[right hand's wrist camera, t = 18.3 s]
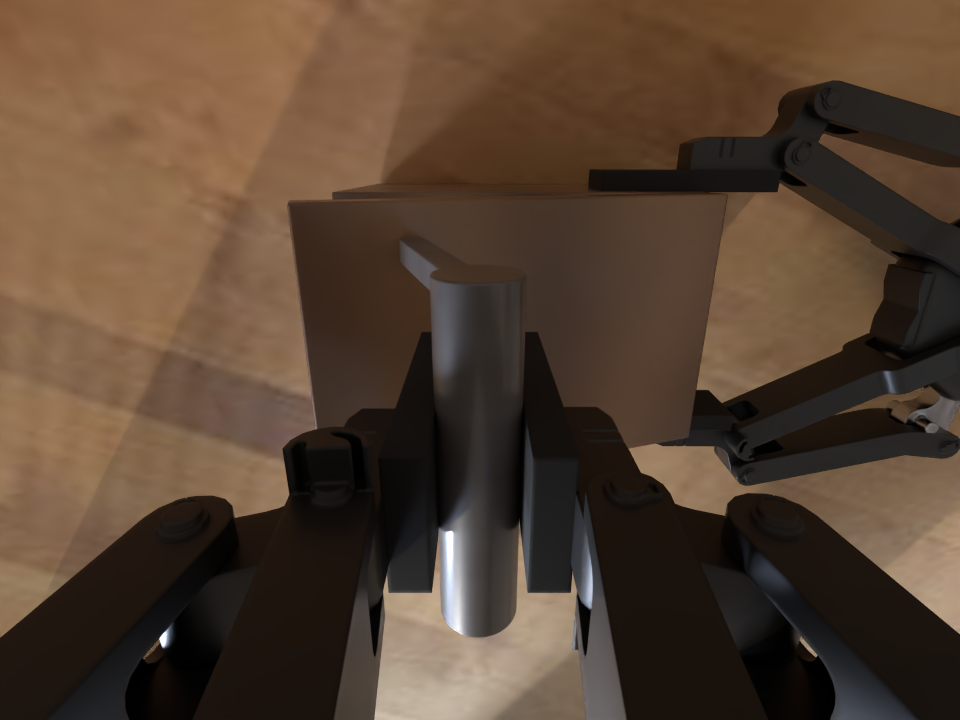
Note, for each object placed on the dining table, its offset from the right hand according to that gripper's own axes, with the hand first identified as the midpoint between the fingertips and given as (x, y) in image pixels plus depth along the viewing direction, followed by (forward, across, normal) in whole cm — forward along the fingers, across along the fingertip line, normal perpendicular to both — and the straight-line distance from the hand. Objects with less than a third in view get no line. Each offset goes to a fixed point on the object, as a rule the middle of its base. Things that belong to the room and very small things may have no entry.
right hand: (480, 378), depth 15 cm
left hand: (+8, -4, 0) cm, 9 cm away
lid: (+4, -1, 0) cm, 4 cm away
